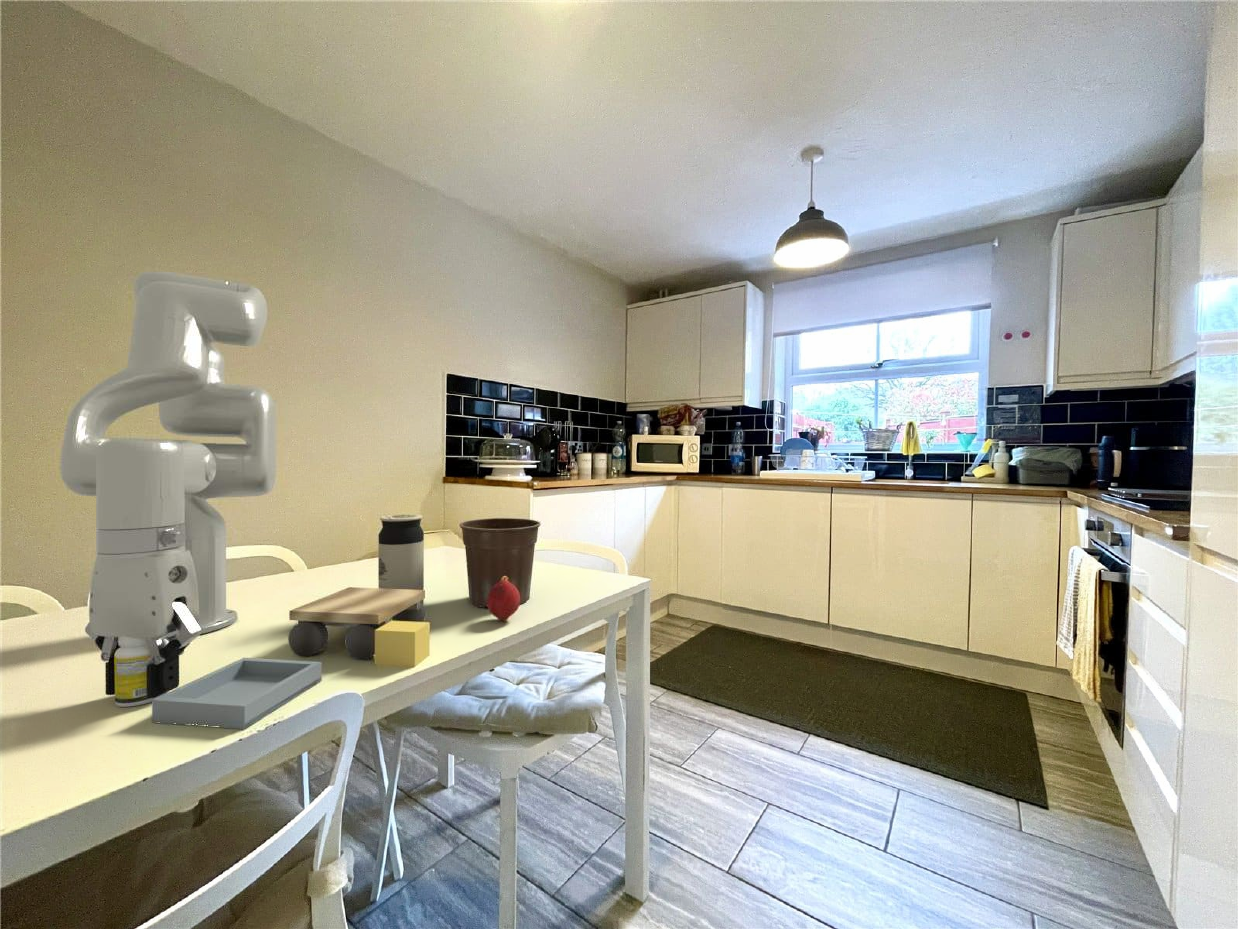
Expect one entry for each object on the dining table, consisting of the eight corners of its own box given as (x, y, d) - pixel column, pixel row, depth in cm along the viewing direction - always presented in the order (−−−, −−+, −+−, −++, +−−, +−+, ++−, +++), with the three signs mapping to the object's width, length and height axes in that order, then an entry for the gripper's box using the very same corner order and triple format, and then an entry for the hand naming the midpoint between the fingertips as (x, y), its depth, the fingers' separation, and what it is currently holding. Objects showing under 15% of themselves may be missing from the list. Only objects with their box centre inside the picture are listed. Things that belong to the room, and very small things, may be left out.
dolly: (288, 655, 70) (288, 611, 70) (349, 624, 83) (349, 587, 83) (377, 660, 68) (377, 615, 68) (425, 628, 81) (425, 589, 81)
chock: (374, 665, 67) (374, 630, 67) (391, 654, 71) (391, 620, 71) (415, 667, 66) (415, 632, 66) (429, 656, 70) (429, 622, 70)
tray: (152, 722, 52) (152, 700, 52) (243, 676, 63) (243, 657, 63) (244, 729, 51) (244, 706, 51) (321, 681, 62) (321, 662, 62)
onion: (511, 627, 82) (511, 581, 82) (481, 625, 83) (481, 579, 83) (525, 616, 88) (525, 573, 88) (496, 614, 89) (496, 572, 89)
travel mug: (421, 600, 97) (422, 513, 97) (425, 612, 90) (425, 517, 90) (378, 606, 93) (378, 515, 93) (378, 618, 86) (378, 519, 86)
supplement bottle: (140, 689, 59) (140, 622, 59) (180, 687, 60) (180, 621, 60) (102, 709, 55) (101, 636, 55) (146, 707, 55) (145, 635, 55)
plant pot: (556, 599, 99) (556, 522, 98) (489, 618, 86) (489, 530, 86) (509, 585, 109) (510, 515, 109) (444, 601, 97) (444, 522, 97)
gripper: (234, 537, 60) (235, 680, 60) (117, 534, 62) (117, 673, 62) (172, 548, 52) (173, 712, 53) (41, 544, 54) (41, 702, 54)
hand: (143, 689), depth 57 cm, fingers closed on supplement bottle, 4 cm apart
